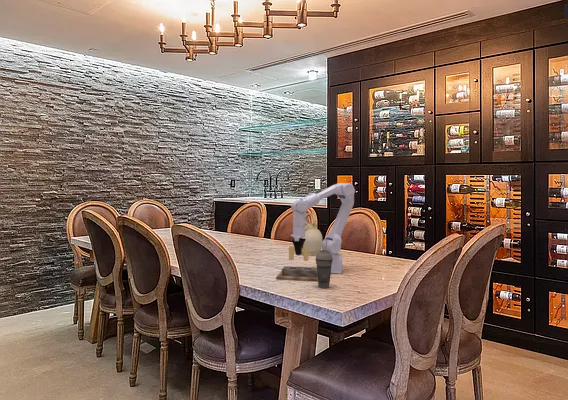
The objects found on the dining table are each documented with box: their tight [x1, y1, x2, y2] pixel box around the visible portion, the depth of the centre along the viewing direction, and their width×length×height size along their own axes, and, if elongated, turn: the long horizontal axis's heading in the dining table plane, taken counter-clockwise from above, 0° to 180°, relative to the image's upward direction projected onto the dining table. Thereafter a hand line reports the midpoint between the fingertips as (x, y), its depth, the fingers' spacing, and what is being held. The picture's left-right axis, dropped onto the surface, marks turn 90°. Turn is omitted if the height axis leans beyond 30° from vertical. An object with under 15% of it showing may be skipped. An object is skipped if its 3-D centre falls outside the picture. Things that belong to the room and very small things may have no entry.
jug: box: [300, 212, 323, 256], centre depth 260 cm, size 15×16×25 cm
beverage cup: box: [314, 239, 333, 289], centre depth 178 cm, size 7×7×20 cm
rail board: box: [275, 265, 318, 282], centre depth 196 cm, size 20×14×4 cm
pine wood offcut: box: [288, 245, 310, 262], centre depth 202 cm, size 9×3×6 cm, turn 80°
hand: (298, 254), depth 202 cm, fingers closed on pine wood offcut, 3 cm apart
